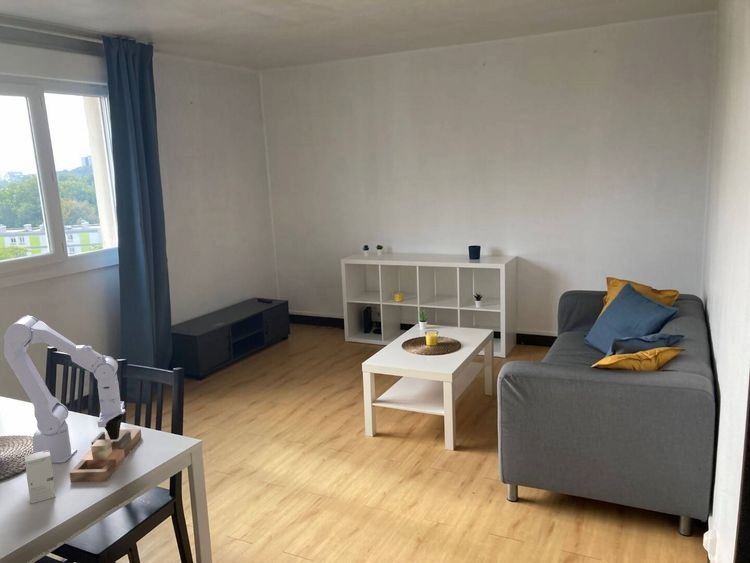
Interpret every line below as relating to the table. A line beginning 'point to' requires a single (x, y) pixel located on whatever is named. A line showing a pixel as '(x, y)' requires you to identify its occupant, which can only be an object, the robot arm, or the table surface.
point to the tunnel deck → (105, 468)
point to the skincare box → (39, 476)
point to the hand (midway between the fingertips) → (114, 438)
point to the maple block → (101, 449)
